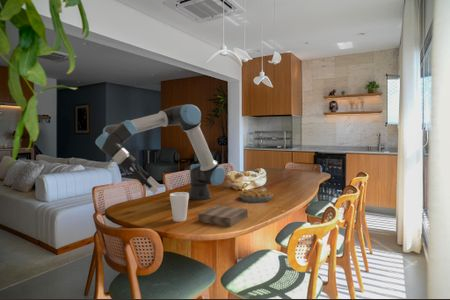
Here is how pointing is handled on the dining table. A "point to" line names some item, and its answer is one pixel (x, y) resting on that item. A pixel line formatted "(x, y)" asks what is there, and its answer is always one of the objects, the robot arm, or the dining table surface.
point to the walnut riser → (223, 215)
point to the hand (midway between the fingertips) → (157, 189)
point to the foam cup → (179, 205)
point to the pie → (255, 195)
